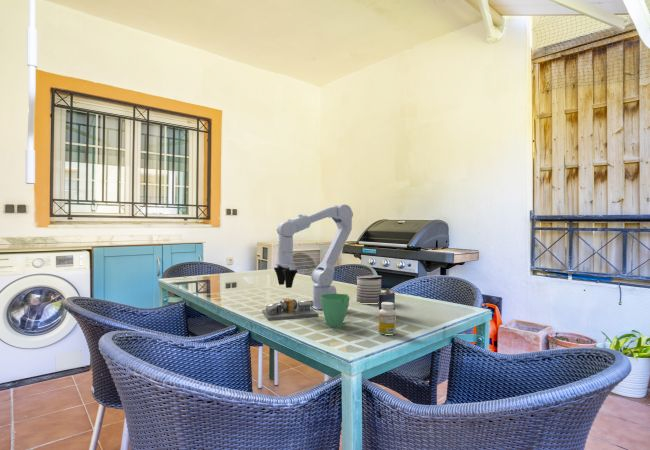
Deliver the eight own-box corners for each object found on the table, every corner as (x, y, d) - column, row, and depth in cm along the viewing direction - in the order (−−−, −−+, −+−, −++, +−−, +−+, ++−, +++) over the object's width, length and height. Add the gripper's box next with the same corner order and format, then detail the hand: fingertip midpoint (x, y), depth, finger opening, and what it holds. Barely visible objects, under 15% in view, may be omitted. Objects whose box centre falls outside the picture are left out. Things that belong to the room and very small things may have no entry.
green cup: (341, 331, 116) (342, 300, 116) (315, 326, 121) (315, 297, 121) (358, 320, 129) (358, 293, 129) (333, 317, 134) (334, 290, 134)
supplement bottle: (383, 330, 118) (383, 300, 118) (398, 333, 115) (398, 302, 115) (375, 333, 114) (376, 303, 114) (391, 337, 111) (391, 305, 111)
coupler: (291, 308, 142) (291, 297, 142) (297, 311, 138) (297, 299, 138) (278, 310, 138) (279, 299, 138) (284, 313, 135) (285, 301, 135)
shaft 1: (275, 310, 138) (275, 302, 138) (282, 312, 136) (282, 303, 136) (264, 313, 133) (264, 304, 133) (271, 315, 131) (271, 306, 131)
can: (366, 305, 154) (366, 278, 154) (350, 300, 163) (351, 274, 163) (386, 303, 159) (387, 276, 159) (370, 298, 169) (371, 273, 169)
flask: (390, 313, 141) (390, 286, 141) (396, 315, 139) (397, 287, 139) (377, 318, 134) (377, 289, 134) (383, 319, 132) (384, 290, 132)
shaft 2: (310, 308, 143) (311, 299, 143) (313, 310, 140) (313, 301, 140) (296, 309, 141) (296, 300, 141) (299, 311, 138) (299, 302, 138)
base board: (308, 309, 146) (308, 306, 146) (318, 316, 135) (318, 313, 135) (262, 312, 139) (262, 309, 139) (268, 320, 128) (268, 317, 128)
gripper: (269, 251, 148) (269, 284, 148) (283, 253, 135) (282, 289, 135) (285, 250, 151) (285, 282, 151) (300, 253, 138) (299, 288, 138)
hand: (285, 286), depth 143 cm, fingers open, 7 cm apart
